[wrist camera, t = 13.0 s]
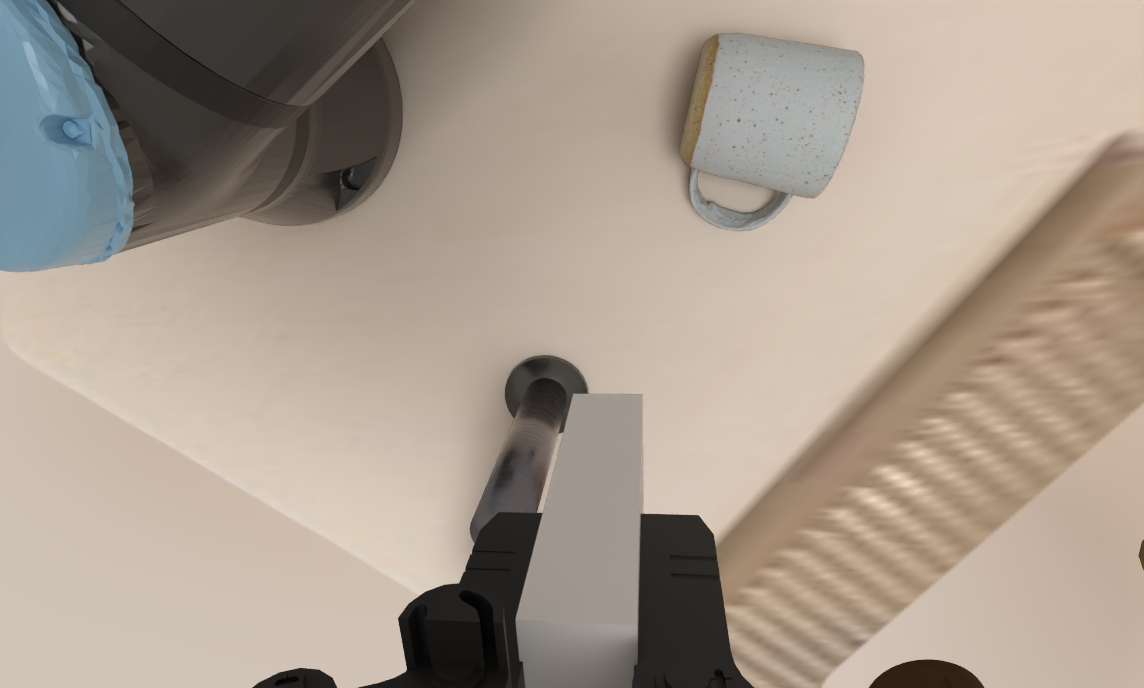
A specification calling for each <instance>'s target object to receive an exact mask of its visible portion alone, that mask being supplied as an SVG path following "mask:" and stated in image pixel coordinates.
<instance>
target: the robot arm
mask: <svg viewBox="0 0 1144 688" xmlns="http://www.w3.org/2000/svg"><path fill="white" fill-rule="evenodd" d="M416 1H417V0H0V270H1V271H9V272H33V271H41V270H47V269H52V268H57V267H64V266H71V265H83V264H92V263H97V262H102V261H105V260H107V259H108V258H109V257H111V256H112V255H114V254H117V253H120V252H123V251H126V250H129V249H133V248H136V247H139V246H143V245H146V244H149V243H152V242H156V241H159V240H162V239H166V238H169V237H172V236H175V235H179V234H182V233H185V232H188V231H192V230H195V229H198V228H202V227H205V226H208V225H211V224H215V223H218V222H221V221H225V220H228V219H231V218H234V217H241V218H246V219H250V220H254V221H258V222H263V223H267V224H272V225H280V226H300V225H309V224H314V223H318V222H322V221H325V220H328V219H330V218H333V217H336V216H338V215H341V214H343V213H346V212H348V211H350V210H351V209H353V208H355V207H356V206H358V205H360V204H361V203H362V202H363V201H365V200H366V199H367V198H368V197H369V196H370V195H371V194H372V193H373V192H374V191H375V190H376V189H377V188H378V187H379V185H380V184H381V183H382V181H383V180H384V178H385V177H386V175H387V173H388V171H389V169H390V167H391V165H392V163H393V161H394V158H395V155H396V152H397V149H398V145H399V140H400V135H401V126H402V103H401V94H400V88H399V83H398V79H397V75H396V72H395V68H394V66H393V63H392V60H391V57H390V55H389V53H388V51H387V49H386V47H385V45H384V43H383V41H382V39H381V36H382V35H383V34H384V33H385V32H386V31H387V30H388V29H389V28H390V27H391V26H392V25H393V24H394V23H395V22H396V21H397V20H398V19H399V18H400V17H401V16H402V15H403V14H404V13H405V12H406V11H407V10H408V9H409V8H410V7H411V6H412V5H413V4H414V3H415V2H416ZM398 620H399V627H400V632H401V638H402V643H403V649H404V654H405V660H406V666H407V671H406V672H405V673H403V674H401V675H399V676H397V677H395V678H393V679H390V680H386V681H384V682H381V683H377V684H372V685H368V686H363V687H359V688H754V687H753V686H752V685H751V684H750V683H749V682H748V681H747V680H746V679H745V678H744V677H743V676H742V675H741V673H740V671H739V670H738V668H737V667H736V665H735V663H734V660H733V657H732V654H731V650H730V643H729V636H728V629H727V622H726V616H725V609H724V602H723V595H722V588H721V581H720V575H719V568H718V561H717V554H716V547H715V540H714V534H713V533H712V532H711V531H710V529H709V528H708V527H707V525H706V524H705V523H704V522H703V520H702V519H701V518H700V516H699V515H668V514H643V400H642V394H573V397H572V401H571V405H570V408H569V412H568V416H567V420H566V424H565V428H564V432H563V436H562V440H561V444H560V447H559V451H558V455H557V459H556V463H555V467H554V471H553V475H552V479H551V483H550V487H549V490H548V494H547V498H546V502H545V506H544V510H543V513H521V512H498V513H497V514H496V515H495V516H494V517H493V518H492V519H491V520H490V521H489V522H488V523H487V524H486V525H485V526H484V527H483V528H481V529H480V532H479V534H478V537H477V540H476V542H475V545H474V547H473V550H472V555H470V557H469V560H468V563H467V565H466V570H465V572H464V573H463V575H462V578H461V581H460V583H458V584H448V585H443V586H440V587H437V588H435V589H432V590H429V591H426V592H424V593H423V594H422V595H420V596H419V597H417V598H416V599H415V600H413V601H412V602H411V603H409V604H408V606H407V607H406V608H405V610H404V611H403V612H402V614H401V615H400V616H399V618H398ZM253 688H337V687H336V684H335V682H334V680H333V678H332V677H330V676H328V675H327V674H325V673H324V672H322V671H320V670H316V669H306V668H298V669H294V670H289V671H284V672H280V673H278V674H276V675H273V676H271V677H270V678H267V679H266V680H263V681H261V682H259V683H258V684H256V685H255V686H254V687H253Z"/></svg>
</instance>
